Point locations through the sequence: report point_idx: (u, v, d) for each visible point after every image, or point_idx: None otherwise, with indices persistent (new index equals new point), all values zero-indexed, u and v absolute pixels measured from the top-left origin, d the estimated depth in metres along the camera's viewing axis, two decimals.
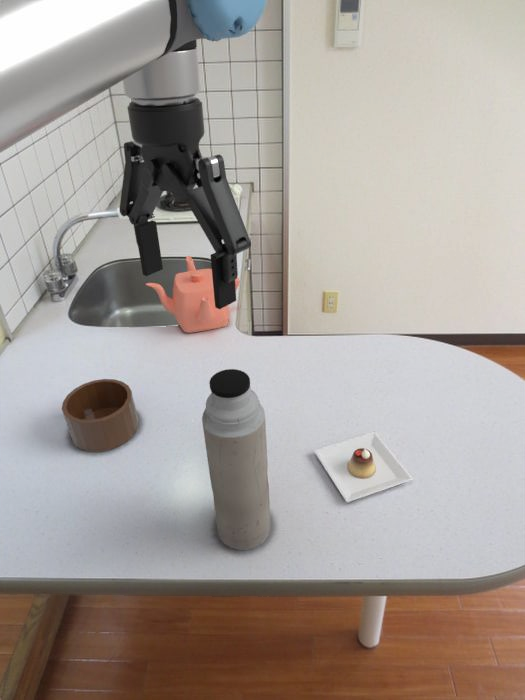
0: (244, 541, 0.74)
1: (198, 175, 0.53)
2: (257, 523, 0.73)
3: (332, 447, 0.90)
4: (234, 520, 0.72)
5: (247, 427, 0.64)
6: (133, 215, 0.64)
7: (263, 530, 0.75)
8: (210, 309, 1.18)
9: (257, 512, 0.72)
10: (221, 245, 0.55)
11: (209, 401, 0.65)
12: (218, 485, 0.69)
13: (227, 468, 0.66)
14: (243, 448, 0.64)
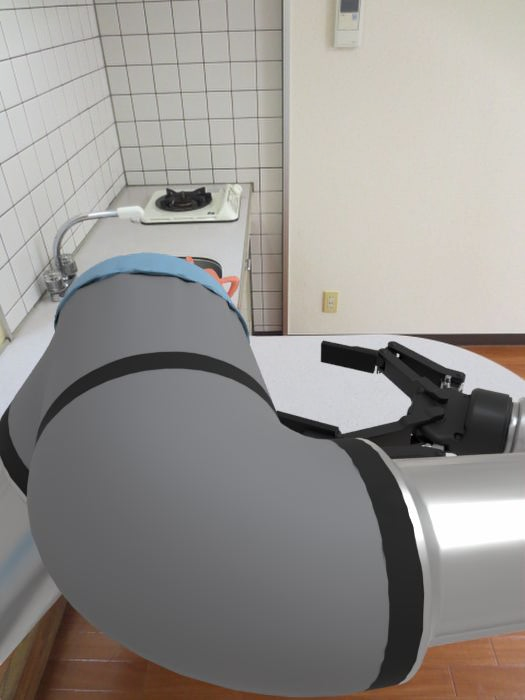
0: None
1: (428, 445, 0.48)
2: None
3: None
4: None
5: None
6: (388, 354, 0.60)
7: None
8: None
9: None
10: None
11: None
12: None
13: None
14: None
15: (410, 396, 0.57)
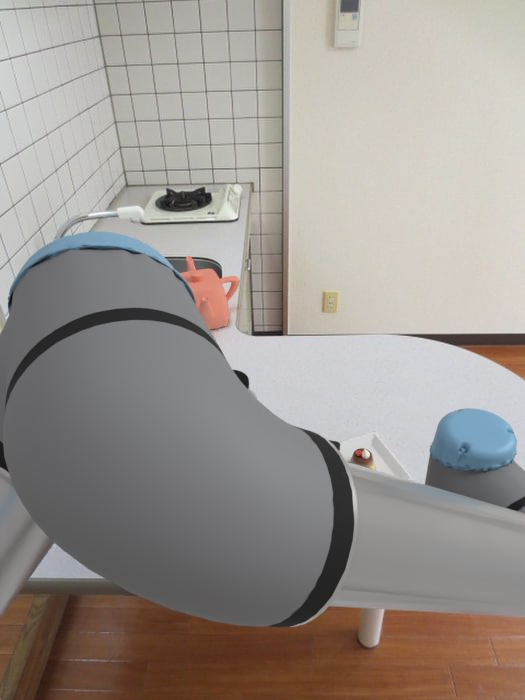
0: None
1: None
2: None
3: None
4: None
5: None
6: None
7: None
8: (210, 309, 1.18)
9: None
10: None
11: None
12: None
13: None
14: None
15: None
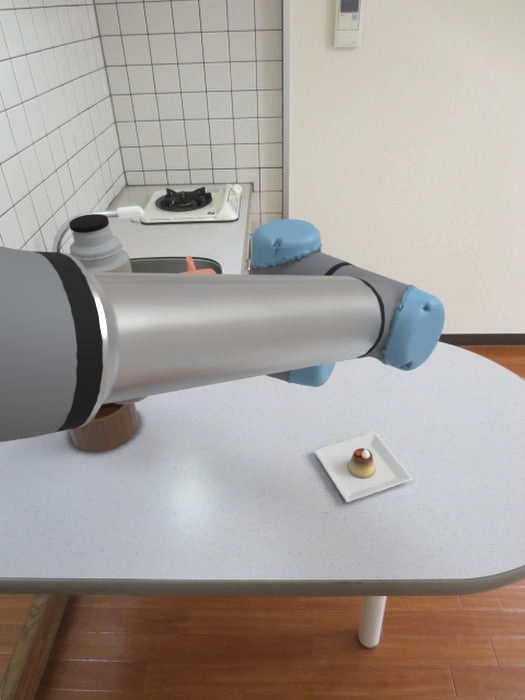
0: None
1: None
2: None
3: (332, 447, 0.90)
4: None
5: (106, 265, 0.68)
6: None
7: None
8: None
9: None
10: None
11: (73, 243, 0.69)
12: None
13: None
14: None
15: None
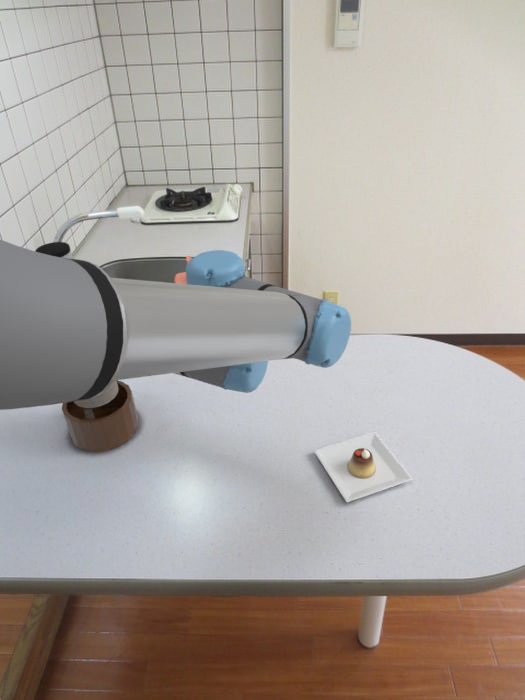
0: None
1: None
2: None
3: (332, 447, 0.90)
4: None
5: None
6: None
7: (105, 391, 0.90)
8: None
9: None
10: None
11: None
12: None
13: None
14: None
15: None
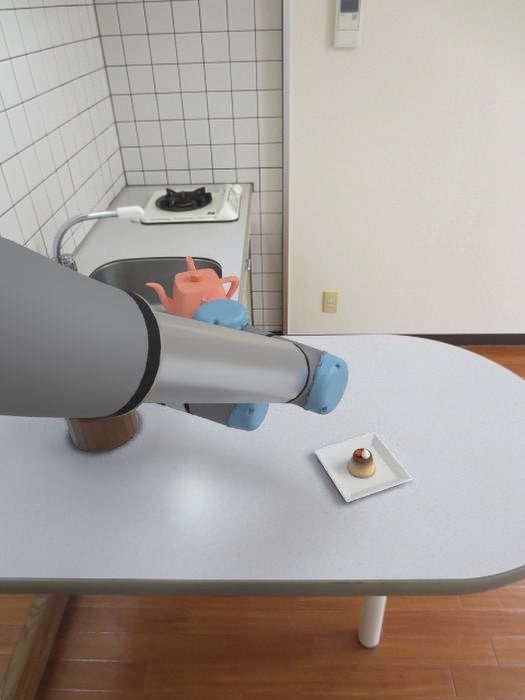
0: None
1: None
2: None
3: (332, 447, 0.90)
4: None
5: None
6: None
7: None
8: None
9: None
10: None
11: None
12: None
13: None
14: None
15: None
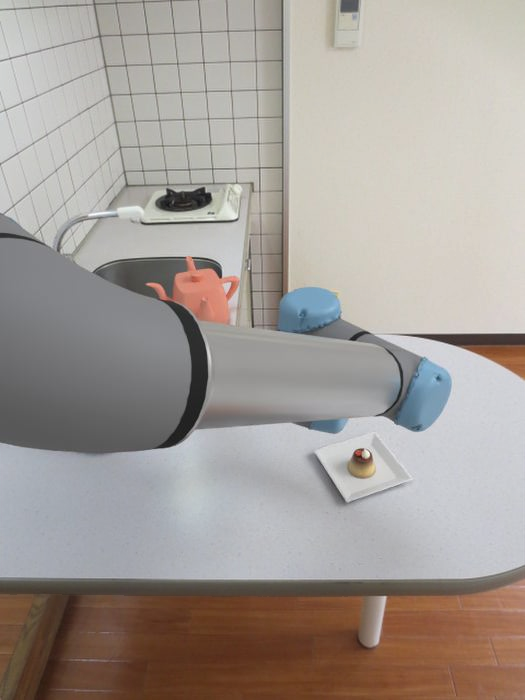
0: None
1: None
2: None
3: (332, 447, 0.90)
4: None
5: None
6: None
7: None
8: (210, 309, 1.18)
9: None
10: None
11: None
12: None
13: None
14: None
15: None
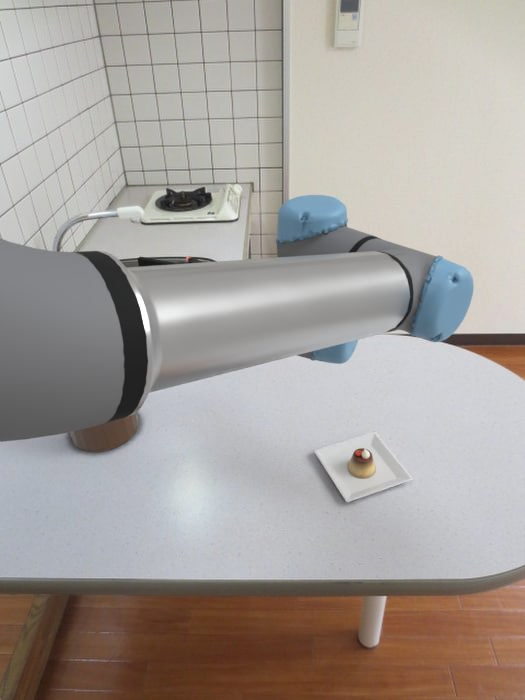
0: None
1: None
2: None
3: (332, 447, 0.90)
4: None
5: None
6: None
7: None
8: None
9: None
10: None
11: None
12: None
13: None
14: None
15: None
